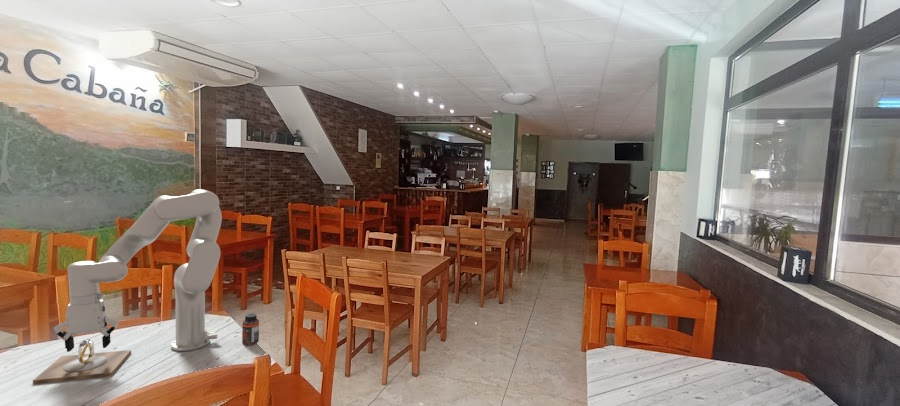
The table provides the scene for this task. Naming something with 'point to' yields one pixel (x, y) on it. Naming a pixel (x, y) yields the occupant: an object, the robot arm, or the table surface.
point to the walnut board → (83, 367)
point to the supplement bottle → (250, 329)
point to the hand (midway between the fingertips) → (88, 348)
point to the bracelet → (88, 344)
